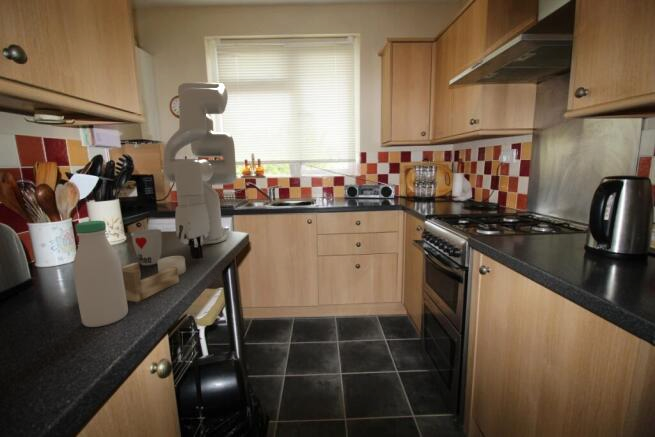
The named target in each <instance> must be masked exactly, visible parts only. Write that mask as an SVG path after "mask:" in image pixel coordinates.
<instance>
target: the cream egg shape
mask: <svg viewBox="0 0 655 437" xmlns="http://www.w3.org/2000/svg"><path fill="white" fill-rule="evenodd" d="M156 264H157V269H158V273H160V272H162V271H164V270H167V269H169V268H172V267H177V268H178V276H180V275H182V274H184V273H186V271H187V266H186V258H185V256H183V255H170V256H165V257H162V258H160V259H159V260H158V261H157V263H156Z"/></svg>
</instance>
